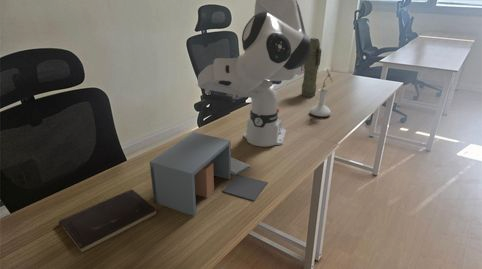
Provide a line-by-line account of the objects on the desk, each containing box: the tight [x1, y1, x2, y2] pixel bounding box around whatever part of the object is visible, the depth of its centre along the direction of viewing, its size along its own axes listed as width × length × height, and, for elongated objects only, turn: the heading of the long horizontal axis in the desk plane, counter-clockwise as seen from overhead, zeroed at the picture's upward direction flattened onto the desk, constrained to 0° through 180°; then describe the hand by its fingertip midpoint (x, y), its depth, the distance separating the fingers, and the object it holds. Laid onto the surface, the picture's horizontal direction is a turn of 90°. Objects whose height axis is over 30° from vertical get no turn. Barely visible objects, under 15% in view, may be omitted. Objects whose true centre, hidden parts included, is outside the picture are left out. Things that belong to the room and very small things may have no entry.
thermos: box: [301, 37, 322, 98], centre depth 203 cm, size 9×12×35 cm
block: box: [194, 162, 215, 199], centre depth 109 cm, size 4×4×11 cm
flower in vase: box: [309, 68, 334, 118], centre depth 175 cm, size 13×11×25 cm
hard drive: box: [231, 156, 251, 176], centre depth 128 cm, size 2×8×12 cm
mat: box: [221, 174, 268, 202], centre depth 115 cm, size 12×12×1 cm
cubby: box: [149, 131, 232, 217], centre depth 110 cm, size 24×15×15 cm, turn 154°
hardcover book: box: [58, 188, 158, 253], centre depth 98 cm, size 16×23×2 cm
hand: (221, 94), depth 100 cm, fingers open, 8 cm apart
